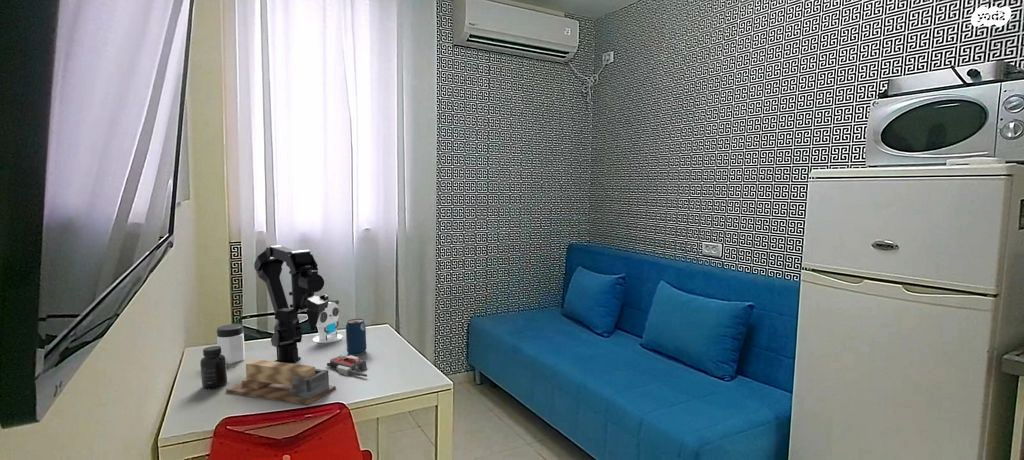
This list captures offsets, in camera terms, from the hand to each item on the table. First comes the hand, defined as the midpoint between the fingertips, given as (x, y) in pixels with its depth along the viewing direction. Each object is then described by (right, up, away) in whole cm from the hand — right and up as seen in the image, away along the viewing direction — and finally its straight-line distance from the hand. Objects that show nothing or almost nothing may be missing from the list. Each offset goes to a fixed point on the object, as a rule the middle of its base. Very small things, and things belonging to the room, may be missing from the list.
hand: (303, 334), depth 171 cm
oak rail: (0, -11, -17) cm, 20 cm away
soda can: (+12, -11, +18) cm, 24 cm away
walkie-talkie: (+16, -13, 0) cm, 21 cm away
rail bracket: (0, -14, -17) cm, 22 cm away
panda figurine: (-5, -9, +36) cm, 37 cm away
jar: (-30, -12, +12) cm, 34 cm away
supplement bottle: (-23, -14, -12) cm, 29 cm away
